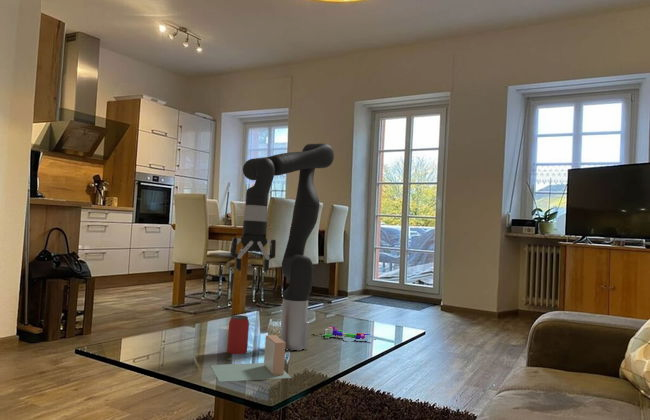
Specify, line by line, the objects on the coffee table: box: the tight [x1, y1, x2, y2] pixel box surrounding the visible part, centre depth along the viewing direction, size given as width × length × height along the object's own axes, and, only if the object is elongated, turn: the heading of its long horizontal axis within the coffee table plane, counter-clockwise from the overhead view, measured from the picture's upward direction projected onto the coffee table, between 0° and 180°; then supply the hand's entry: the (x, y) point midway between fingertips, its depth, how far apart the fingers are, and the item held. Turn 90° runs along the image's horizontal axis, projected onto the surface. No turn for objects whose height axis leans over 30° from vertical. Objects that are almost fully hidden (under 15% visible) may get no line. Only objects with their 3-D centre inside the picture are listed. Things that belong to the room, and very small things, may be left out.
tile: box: [263, 334, 286, 375], centre depth 137 cm, size 3×10×9 cm, turn 22°
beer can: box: [226, 314, 250, 355], centre depth 156 cm, size 7×7×12 cm
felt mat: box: [209, 362, 293, 383], centre depth 134 cm, size 20×16×1 cm
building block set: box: [324, 326, 371, 339], centre depth 195 cm, size 25×20×4 cm
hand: (251, 271), depth 150 cm, fingers open, 8 cm apart
